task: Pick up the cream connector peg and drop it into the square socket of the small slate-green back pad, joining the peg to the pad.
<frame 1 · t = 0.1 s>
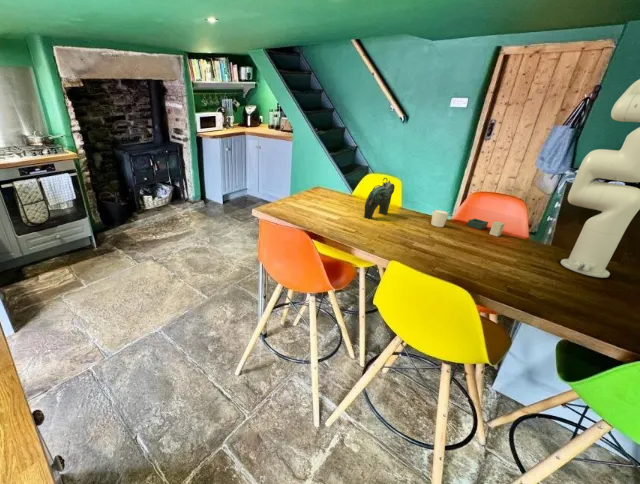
peg: (494, 234, 141), on the worktop
back pad: (476, 226, 151), on the worktop
cream cup: (437, 225, 150), on the worktop
dark green arched piece: (376, 215, 159), on the worktop
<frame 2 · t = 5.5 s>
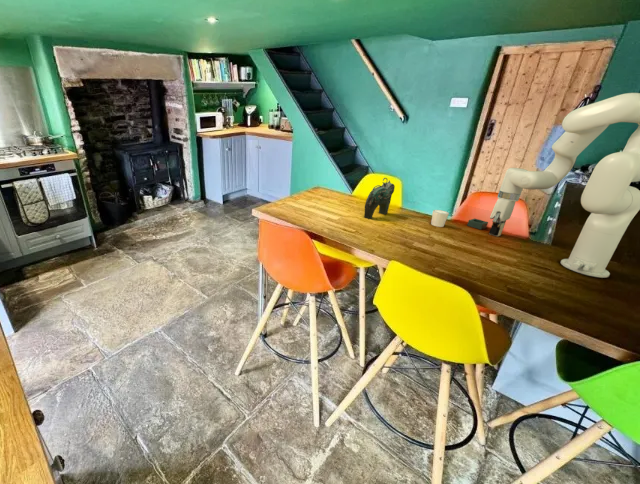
hand: (495, 233, 141), 1 cm above the worktop, tool pointing down, fingers closed on peg, 3 cm apart
peg: (494, 234, 141), on the worktop, touching gripper
everything else where it was.
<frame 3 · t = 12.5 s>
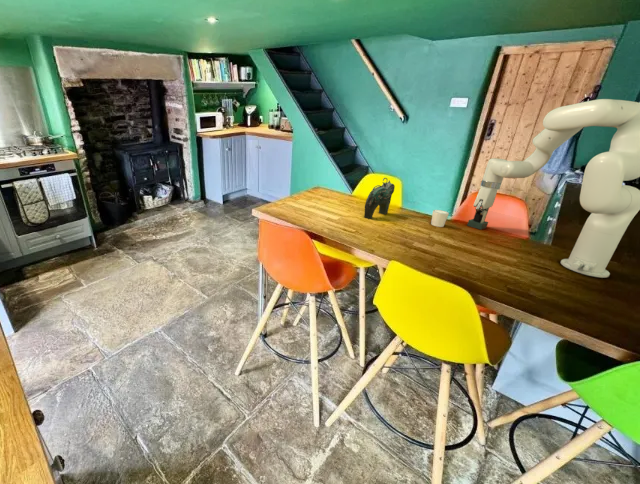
hand: (478, 220, 150), 3 cm above the worktop, tool pointing down, fingers closed on peg, 3 cm apart
peg: (478, 221, 150), point 3 cm above the worktop, touching gripper
everything else where it was.
when the fingers open (4 cm above the worktop, at t = 15.7 s): peg drops 3 cm, resting in back pad.
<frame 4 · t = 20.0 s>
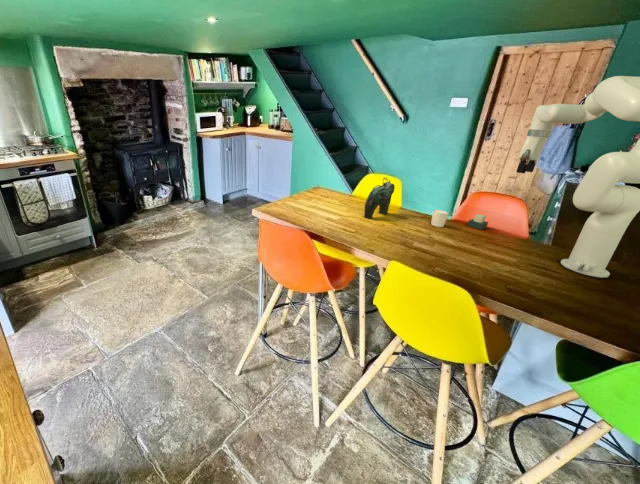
hand: (524, 172, 141), 28 cm above the worktop, tool pointing down, fingers open, 9 cm apart
peg: (476, 226, 151), resting in back pad
everything else where it was.
at the end: peg 0.1 cm off-centre in the back pad, point 0.0 cm above the back pad's base; peg tilted 0° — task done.
